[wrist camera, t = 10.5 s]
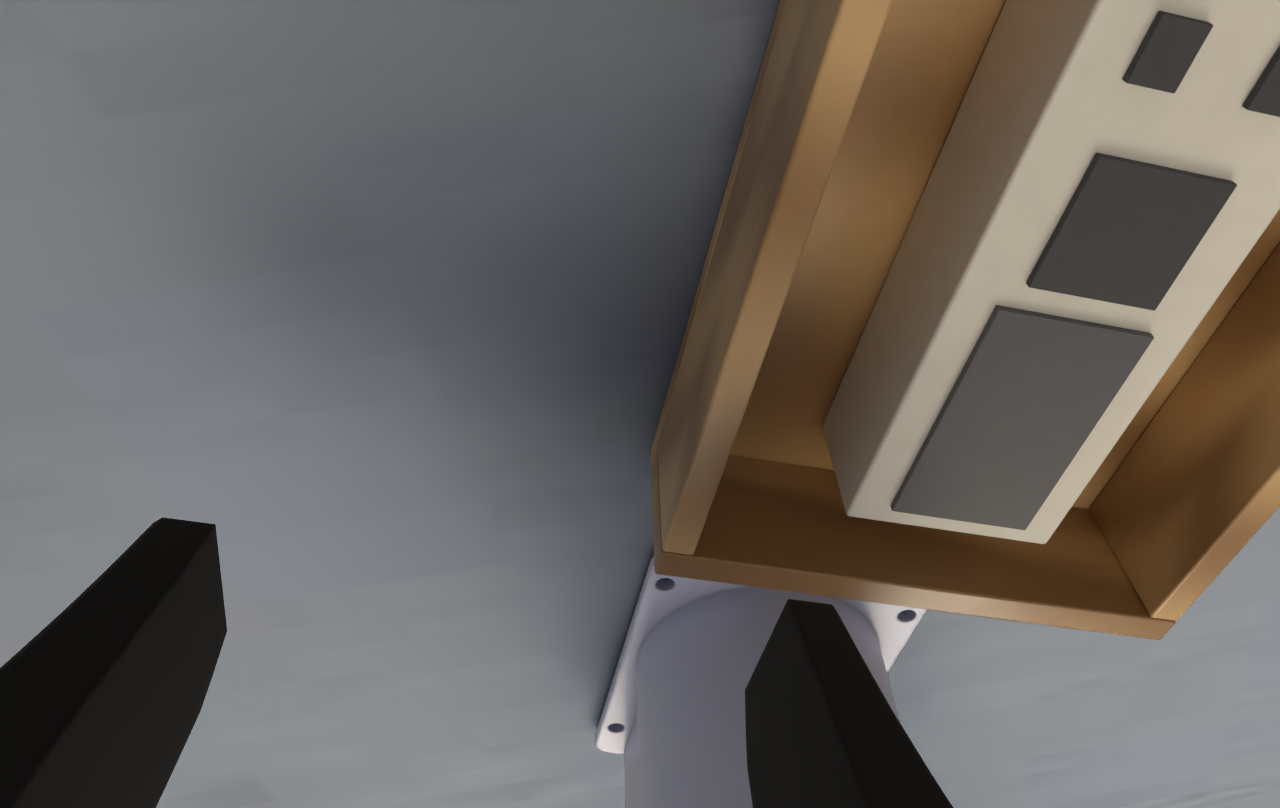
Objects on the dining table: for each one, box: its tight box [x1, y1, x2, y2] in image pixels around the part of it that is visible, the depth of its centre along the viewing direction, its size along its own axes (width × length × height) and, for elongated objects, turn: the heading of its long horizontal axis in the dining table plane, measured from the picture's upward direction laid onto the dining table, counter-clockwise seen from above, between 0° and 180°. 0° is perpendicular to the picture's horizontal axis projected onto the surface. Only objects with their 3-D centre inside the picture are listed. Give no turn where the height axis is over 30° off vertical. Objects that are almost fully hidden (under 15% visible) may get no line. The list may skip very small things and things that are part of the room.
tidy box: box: [651, 0, 1280, 640], centre depth 16 cm, size 18×12×4 cm
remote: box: [823, 0, 1280, 544], centre depth 16 cm, size 14×5×3 cm, turn 168°
